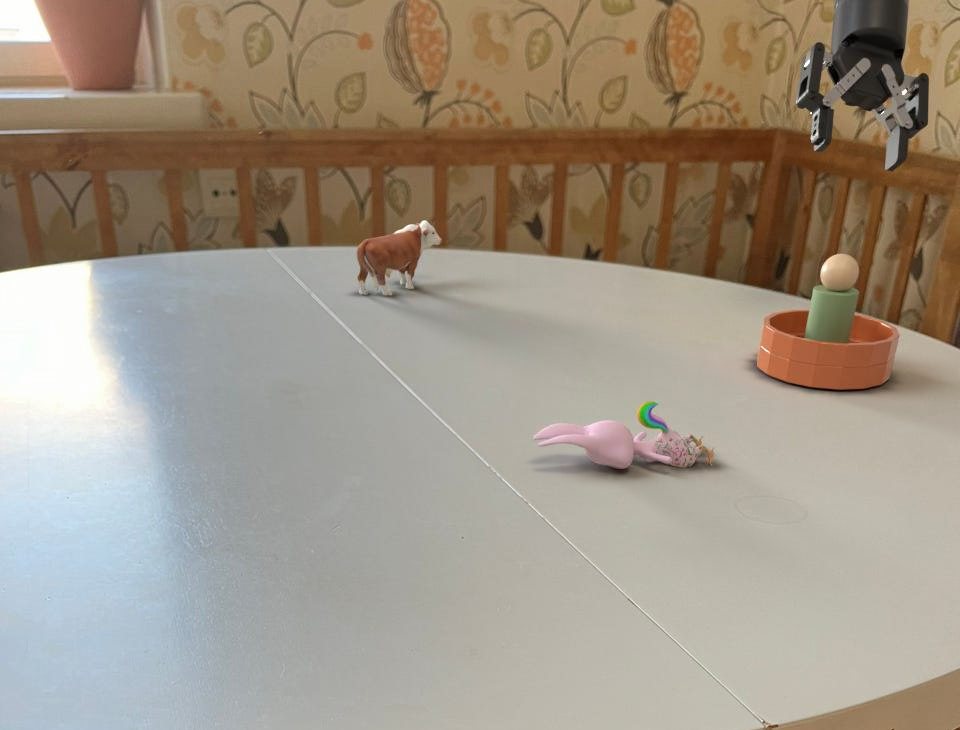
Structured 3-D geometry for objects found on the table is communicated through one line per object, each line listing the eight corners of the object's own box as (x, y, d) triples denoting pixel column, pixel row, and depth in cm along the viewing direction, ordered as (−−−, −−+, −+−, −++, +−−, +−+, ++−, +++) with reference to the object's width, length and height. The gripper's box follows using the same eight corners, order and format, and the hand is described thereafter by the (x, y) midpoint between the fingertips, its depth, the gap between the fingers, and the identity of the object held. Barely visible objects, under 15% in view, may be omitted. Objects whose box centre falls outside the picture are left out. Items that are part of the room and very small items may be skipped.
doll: (830, 361, 111) (853, 249, 105) (850, 374, 107) (874, 258, 101) (791, 363, 110) (812, 249, 104) (810, 376, 106) (832, 259, 100)
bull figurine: (446, 286, 138) (446, 220, 134) (370, 303, 130) (368, 234, 125) (423, 280, 141) (422, 215, 136) (347, 296, 132) (344, 228, 128)
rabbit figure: (684, 463, 91) (521, 447, 86) (704, 396, 88) (535, 376, 83) (714, 492, 85) (541, 476, 81) (736, 422, 83) (558, 402, 78)
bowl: (850, 354, 115) (859, 308, 113) (912, 392, 104) (924, 342, 102) (736, 357, 113) (744, 310, 111) (787, 397, 102) (797, 346, 100)
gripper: (831, -30, 106) (818, 122, 105) (951, 8, 109) (940, 155, 108) (792, 17, 113) (779, 160, 112) (906, 51, 117) (895, 190, 115)
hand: (858, 157), depth 110 cm, fingers open, 8 cm apart
